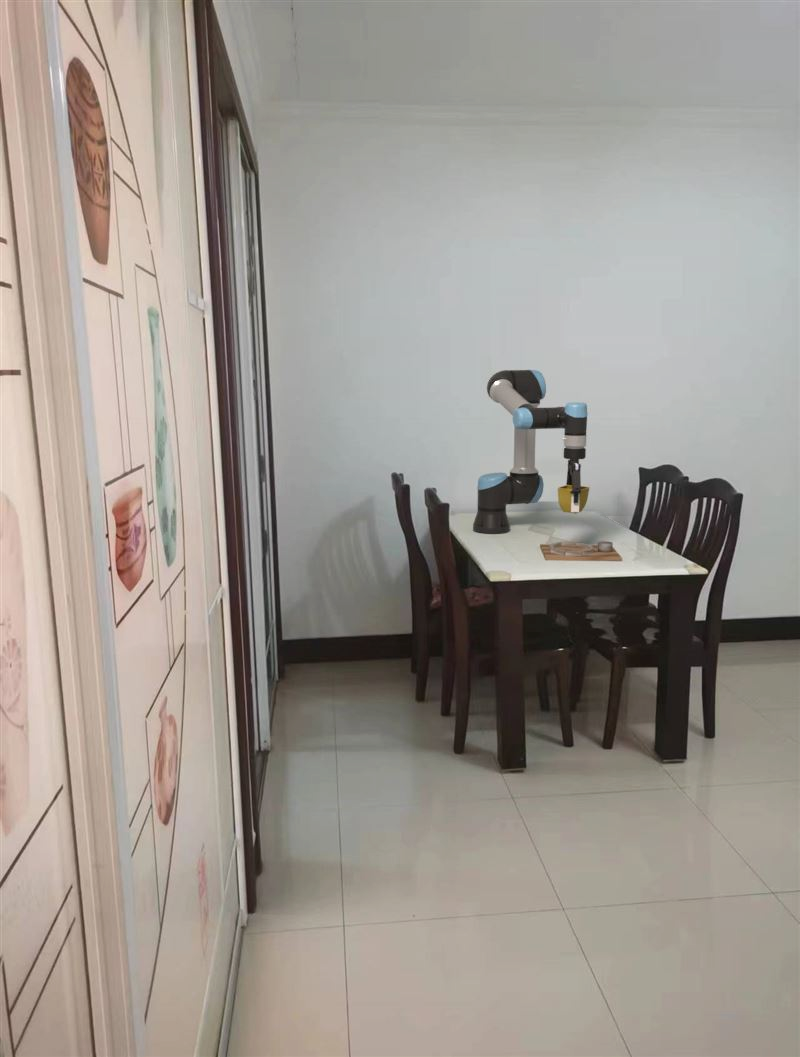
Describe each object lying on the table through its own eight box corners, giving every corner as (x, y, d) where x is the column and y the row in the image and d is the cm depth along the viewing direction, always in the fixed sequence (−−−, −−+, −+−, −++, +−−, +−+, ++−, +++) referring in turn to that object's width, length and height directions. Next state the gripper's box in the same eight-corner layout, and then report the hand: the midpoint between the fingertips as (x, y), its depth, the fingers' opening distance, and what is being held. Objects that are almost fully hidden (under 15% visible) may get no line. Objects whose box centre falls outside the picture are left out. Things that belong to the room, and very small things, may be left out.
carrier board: (540, 547, 296) (540, 536, 295) (611, 548, 294) (611, 537, 293) (545, 560, 277) (545, 548, 276) (621, 561, 275) (622, 549, 274)
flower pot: (589, 511, 284) (590, 486, 282) (579, 515, 277) (580, 489, 275) (565, 509, 288) (566, 484, 287) (556, 512, 281) (557, 487, 280)
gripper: (559, 444, 290) (558, 503, 294) (568, 450, 267) (566, 514, 271) (580, 444, 289) (578, 503, 293) (591, 450, 266) (588, 515, 270)
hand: (572, 509), depth 282 cm, fingers closed on flower pot, 11 cm apart
